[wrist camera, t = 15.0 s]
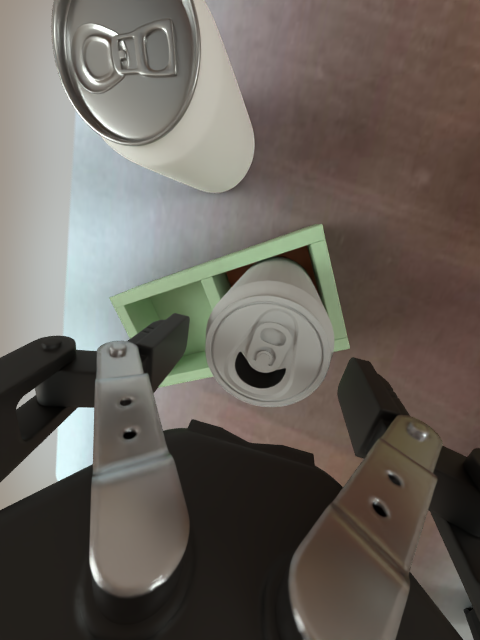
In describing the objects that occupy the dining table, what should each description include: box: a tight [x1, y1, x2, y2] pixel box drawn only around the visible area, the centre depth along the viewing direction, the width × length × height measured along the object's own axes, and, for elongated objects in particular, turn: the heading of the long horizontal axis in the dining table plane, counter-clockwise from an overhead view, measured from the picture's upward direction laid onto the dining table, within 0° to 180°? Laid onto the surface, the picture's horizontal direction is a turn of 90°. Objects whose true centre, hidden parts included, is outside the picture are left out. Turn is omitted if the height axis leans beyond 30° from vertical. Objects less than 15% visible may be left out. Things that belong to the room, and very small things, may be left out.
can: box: [52, 0, 255, 193], centre depth 14 cm, size 6×6×12 cm
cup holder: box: [109, 224, 350, 388], centre depth 22 cm, size 9×18×5 cm, turn 109°
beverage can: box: [205, 257, 334, 407], centre depth 16 cm, size 6×6×12 cm
